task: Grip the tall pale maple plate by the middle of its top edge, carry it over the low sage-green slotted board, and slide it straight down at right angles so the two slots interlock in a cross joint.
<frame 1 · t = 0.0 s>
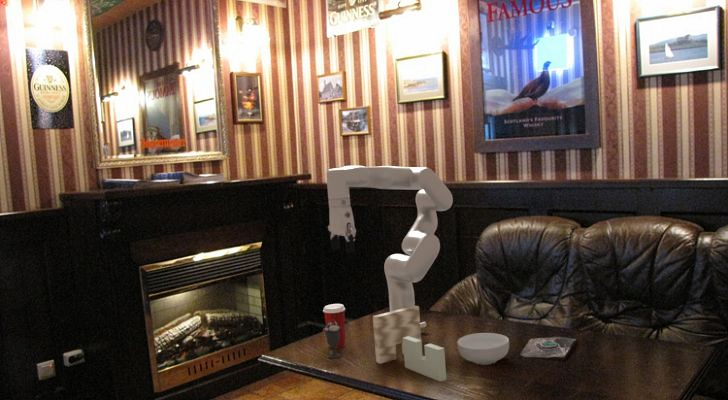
hand: (343, 251, 233), 37 cm above the table, tool pointing down, fingers open, 9 cm apart
terrain model: (548, 351, 223), on the table
maple plate: (399, 356, 227), on the table
sundae: (334, 356, 233), on the table
sage board: (425, 373, 209), on the table
coffee cup: (337, 346, 245), on the table
cereal bowl: (484, 361, 217), on the table
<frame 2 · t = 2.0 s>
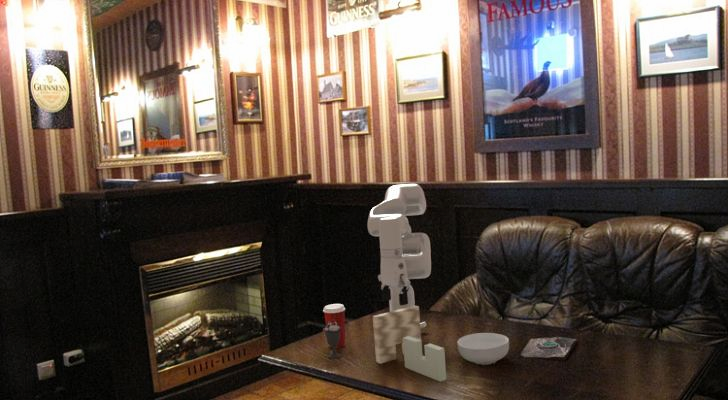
hand: (395, 302, 225), 19 cm above the table, tool pointing down, fingers open, 9 cm apart
nothing on the table moved.
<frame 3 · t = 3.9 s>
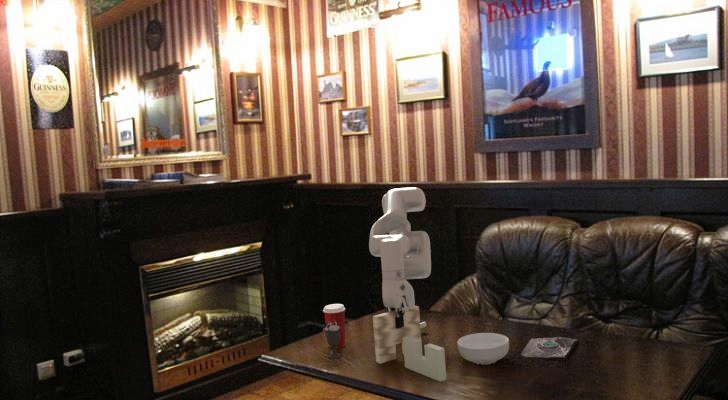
hand: (397, 326, 226), 11 cm above the table, tool pointing down, fingers closed on maple plate, 2 cm apart
maple plate: (399, 356, 227), on the table, touching gripper
everything else where it was.
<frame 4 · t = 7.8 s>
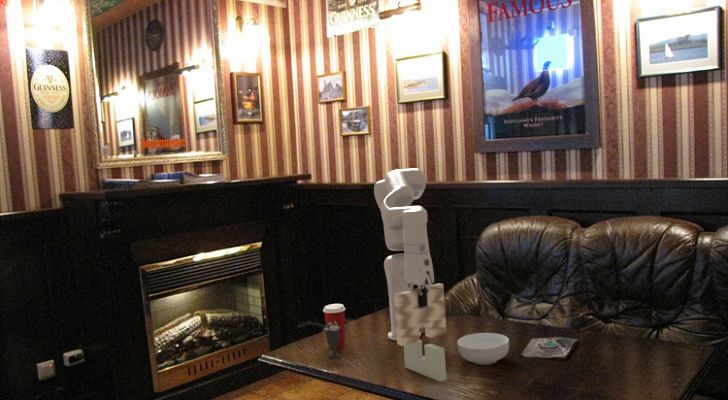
hand: (420, 305, 207), 22 cm above the table, tool pointing down, fingers closed on maple plate
maple plate: (422, 338, 208), point 11 cm above the table, touching gripper
everything else where it was.
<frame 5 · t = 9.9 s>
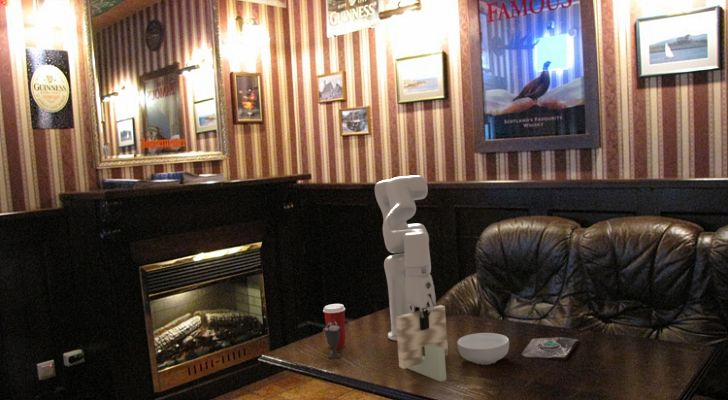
hand: (421, 327, 208), 15 cm above the table, tool pointing down, fingers closed on maple plate
maple plate: (424, 360, 209), point 4 cm above the table, touching gripper
everything else where it was.
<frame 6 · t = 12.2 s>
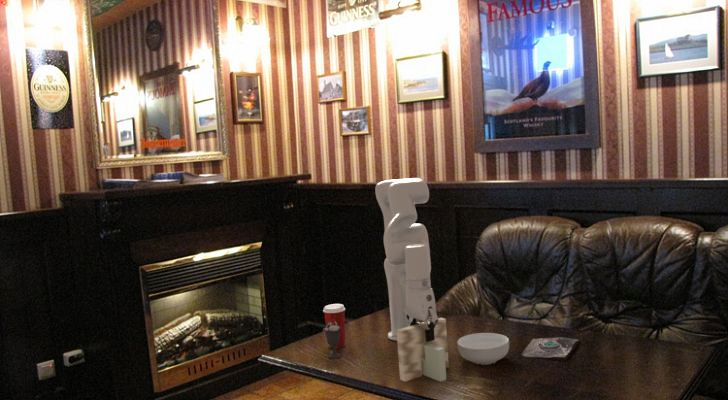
hand: (422, 338, 208), 12 cm above the table, tool pointing down, fingers open, 7 cm apart
maple plate: (425, 373, 209), on the table, touching sage board
everything else where it was.
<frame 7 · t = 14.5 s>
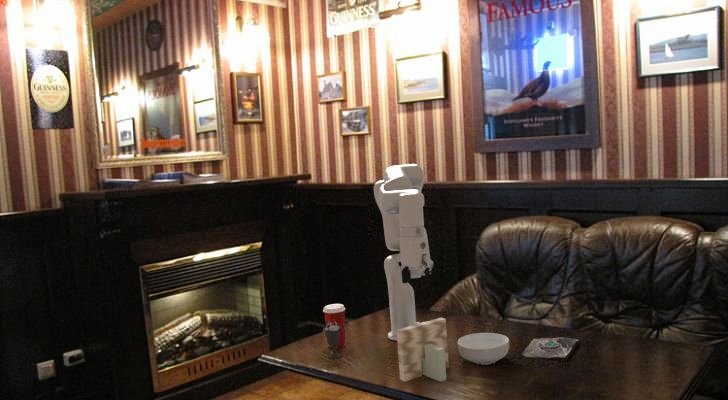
hand: (416, 284, 208), 28 cm above the table, tool pointing down, fingers open, 9 cm apart
nothing on the table moved.
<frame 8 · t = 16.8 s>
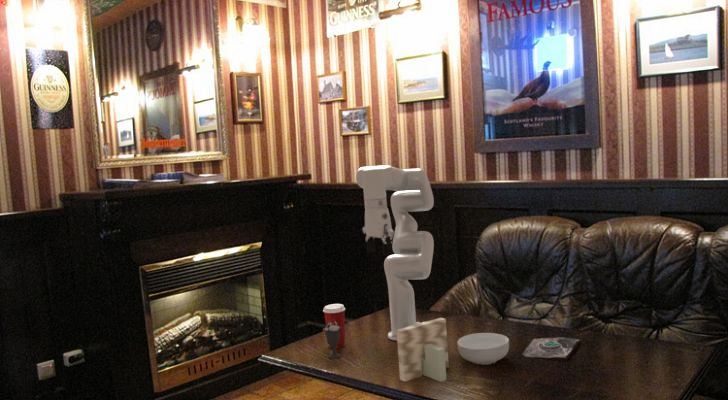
hand: (379, 253, 225), 36 cm above the table, tool pointing down, fingers open, 9 cm apart
nothing on the table moved.
at the end: maple plate 0.1 cm off-centre on the sage board, point 0.0 cm above the sage board's base; maple plate tilted 0°; the gripper is holding nothing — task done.
